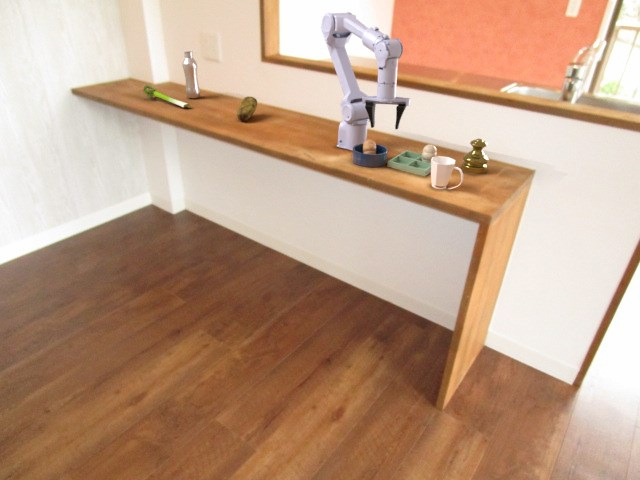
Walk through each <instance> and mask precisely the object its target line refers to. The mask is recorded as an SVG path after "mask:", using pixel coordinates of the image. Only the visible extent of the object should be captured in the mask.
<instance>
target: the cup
mask: <svg viewBox="0 0 640 480" xmlns="http://www.w3.org/2000/svg"><path fill="white" fill-rule="evenodd" d="M456 161H457V160H456V159H454V158H451V157H449V156H442V155H438V156H437V155H436V157H432V159H431V172H430V181H431V187H433V188H434V189H437V190H438V189H439V190H444V189H447V190H449V191H450V190H453V189H456V188H458V187H459V186H461V185H462V183H464V173H463V172H464V171H463V170H462V169H461V168H460V167H458V166H455V164H456ZM454 170H456V171H459V174H460V182H459V183H458V184H457V185H455V186H452V187H447V186H448V184H449V182H450V181H451V177H452V173H453V171H454Z"/></svg>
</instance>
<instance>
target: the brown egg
mask: <svg viewBox="0 0 640 480" xmlns="http://www.w3.org/2000/svg"><path fill="white" fill-rule="evenodd" d="M376 144H377V143H376V141H375V140H374V139H371V138H369V139H367V140H366V141H365V142H364V143H363V153H364V154H376Z"/></svg>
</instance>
